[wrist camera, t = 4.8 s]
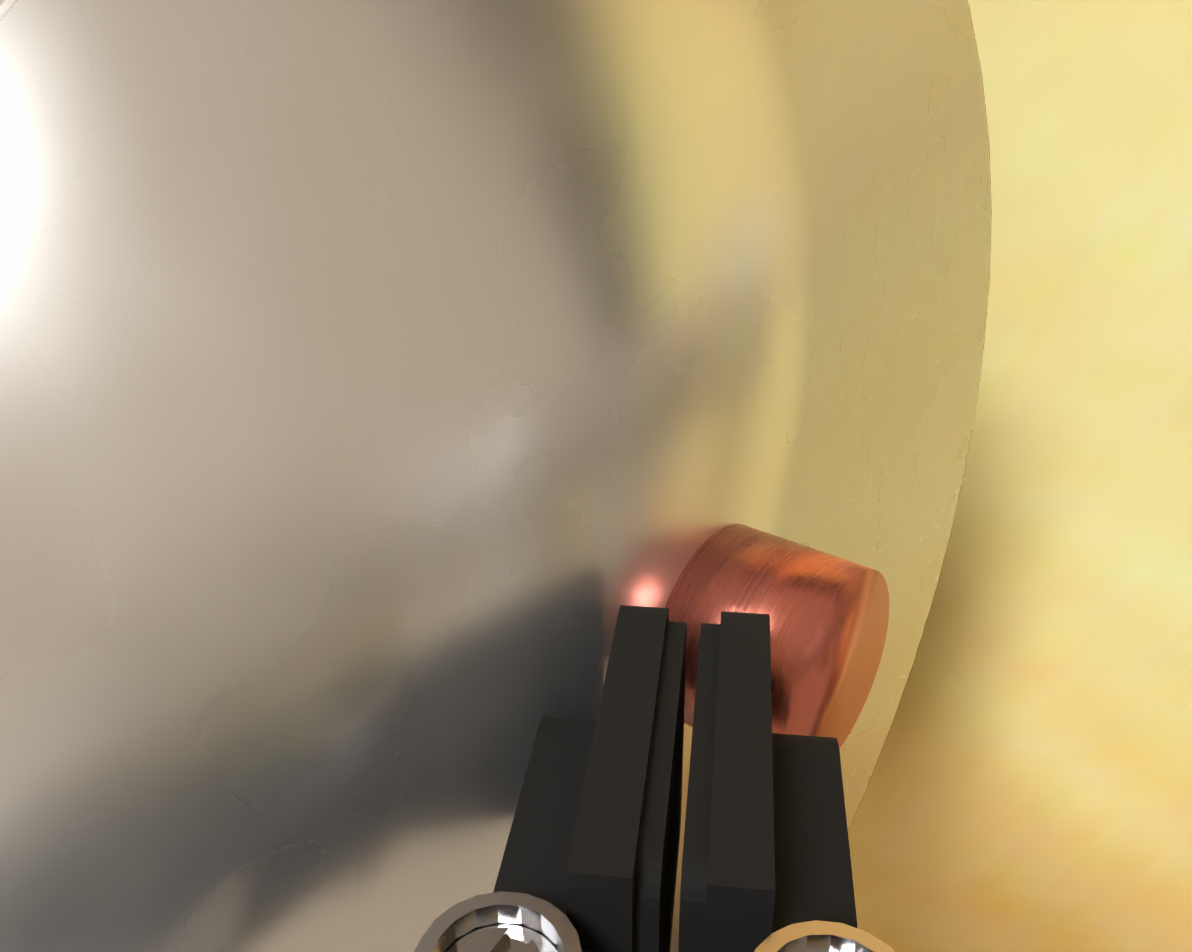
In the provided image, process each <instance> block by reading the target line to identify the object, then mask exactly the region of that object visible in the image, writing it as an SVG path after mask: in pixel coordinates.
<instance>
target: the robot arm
mask: <svg viewBox="0 0 1192 952" xmlns="http://www.w3.org/2000/svg"><path fill="white" fill-rule="evenodd" d="M686 642H687V622H677V621H669V609H668V608H659V607H643V606H626V605H621V606H620V608H619V612H618V617H617V622H616V627H615V632H614V636H613V641H612V646H611V651H610V656H609V661H608V666H607V671H606V676H605V681H604V686H603V691H602V696H601V701H600V706H599V710H598V715H597V720H586V719H572V718H559V717H545V716H544V717H543V718H542V720H541V722H540V724H539V727H538V730H537V734H536V738H535V741H534V745H533V749H532V752H531V756H530V760H529V763H528V767H527V771H526V774H525V778H524V782H523V785H522V789H521V793H520V796H519V800H518V803H517V807H516V811H515V814H514V818H513V822H512V825H511V829H510V833H509V836H508V840H507V844H506V847H505V851H504V855H503V858H502V862H501V866H500V869H499V873H498V877H497V880H496V884H495V888H494V891H493V893H488V894H481V895H476V896H474V897H471V898H469V899H467V900H464V901H462V902H459V903H457V904H455V905H453V906H452V907H450V908H449V909H448V910H447V911H445V912H444V913H443V914H441V915H440V916H439V917H437V918H436V919H435V920H434V921H433V923H432V924H431V925H430V927H429V928H428V929H427V931H426V932H425V933H424V935H423V936H422V937H421V939H420V941H419V943H418V945H417V947H416V949H415V950H414V952H670V948H671V936H672V924H673V912H674V901H675V889H676V877H677V865H678V853H679V842H680V827H681V807H682V774H683V741H684V708H685V675H686ZM678 952H895V951H894V950H893V949H892V948H891V947H890V946H889V945H887V944H886V943H884V942H883V941H881V940H880V939H878V938H876V937H875V936H873V935H872V934H870V933H868V932H867V931H864V930H861V929H858V928H857V919H856V909H855V899H854V889H853V879H852V869H851V860H850V850H849V840H848V830H847V820H846V810H845V800H844V790H843V780H842V770H841V761H840V751H839V744H838V741H837V738H832V737H818V736H804V735H791V734H777V733H772V698H771V647H770V615H769V614H759V613H742V612H726V611H721V621H720V624H710V623H701V630H700V642H699V655H698V667H697V680H696V692H695V705H694V717H693V730H692V743H691V755H690V768H689V780H688V793H687V805H686V818H685V830H684V843H683V856H682V870H681V888H680V911H679V943H678Z"/></svg>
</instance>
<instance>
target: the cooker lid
mask: <svg viewBox="0 0 1192 952" xmlns="http://www.w3.org/2000/svg"><path fill="white" fill-rule="evenodd" d="M991 216H992V209H991V179H990V148H989V136H988V126H987V117H986V107H985V97H984V87H983V78H982V72H981V66H980V61H979V55H978V50H977V45H976V39H975V34H974V29H973V23H972V18H971V13H970V7H969V4H968V0H0V952H414V950H415V949H416V947H417V945H418V943H419V941H420V939H421V937H422V936H423V935H424V933H425V932H426V931H427V929H428V928H429V927H430V925H431V924H432V923H433V921H434V920H435V919H436V918H437V917H439V916H440V915H441V914H443V913H444V912H445V911H447V910H448V909H449V908H450V907H452V906H453V905H455V904H457V903H459V902H462V901H464V900H467V899H469V898H471V897H474V896H476V895H481V894H488V893H493V891H494V888H495V884H496V880H497V877H498V873H499V869H500V866H501V862H502V858H503V855H504V851H505V847H506V844H507V840H508V836H509V833H510V829H511V825H512V822H513V818H514V814H515V811H516V807H517V803H518V800H519V796H520V793H521V789H522V785H523V782H524V778H525V774H526V771H527V767H528V763H529V760H530V756H531V752H532V749H533V745H534V741H535V738H536V734H537V730H538V727H539V724H540V722H541V720H542V718H543V717H544V716H545V717H559V718H572V719H586V720H597V715H598V710H599V706H600V701H601V696H602V691H603V686H604V681H605V676H606V671H607V666H608V661H609V656H610V651H611V646H612V641H613V636H614V632H615V627H616V622H617V617H618V612H619V608H620V606H621V605H626V606H643V607H659V608H668V609H669V621H677V622H687V642H686V675H685V708H684V741H683V774H682V807H681V827H680V842H679V853H678V865H677V877H676V889H675V901H674V912H673V924H672V936H671V948H670V952H678V943H679V911H680V888H681V870H682V856H683V843H684V830H685V818H686V805H687V793H688V780H689V768H690V755H691V743H692V730H693V717H694V705H695V692H696V680H697V667H698V655H699V642H700V630H701V623H710V624H720V621H721V611H726V612H742V613H759V614H769V615H770V647H771V698H772V733H777V734H791V735H804V736H818V737H832V738H837V741H838V744H839V751H840V761H841V770H842V780H843V790H844V800H845V810H846V820H847V830H848V829H849V827H850V824H851V822H852V820H853V818H854V815H855V813H856V811H857V809H858V806H859V804H860V802H861V800H862V797H863V795H864V793H865V790H866V788H867V785H868V783H869V780H870V778H871V775H872V773H873V770H874V768H875V765H876V763H877V760H878V758H879V755H880V753H881V750H882V748H883V745H884V743H885V740H886V738H887V735H888V733H889V730H890V728H891V725H892V722H893V719H894V716H895V713H896V711H897V708H898V705H899V702H900V699H901V697H902V694H903V691H904V688H905V685H906V682H907V680H908V677H909V674H910V671H911V668H912V665H913V662H914V659H915V656H916V653H917V649H918V646H919V643H920V640H921V637H922V633H923V630H924V627H925V624H926V621H927V617H928V614H929V611H930V608H931V605H932V601H933V598H934V594H935V590H936V586H937V583H938V579H939V575H940V572H941V568H942V564H943V560H944V557H945V553H946V549H947V546H948V542H949V538H950V534H951V529H952V525H953V520H954V516H955V511H956V507H957V503H958V498H959V494H960V489H961V485H962V480H963V476H964V471H965V465H966V460H967V454H968V449H969V443H970V438H971V432H972V427H973V421H974V416H975V410H976V402H977V395H978V387H979V380H980V373H981V365H982V358H983V350H984V341H985V329H986V317H987V305H988V293H989V281H990V251H991Z"/></svg>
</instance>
